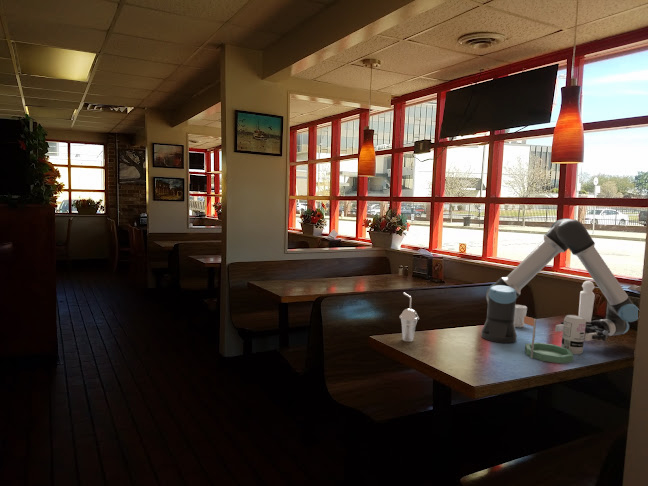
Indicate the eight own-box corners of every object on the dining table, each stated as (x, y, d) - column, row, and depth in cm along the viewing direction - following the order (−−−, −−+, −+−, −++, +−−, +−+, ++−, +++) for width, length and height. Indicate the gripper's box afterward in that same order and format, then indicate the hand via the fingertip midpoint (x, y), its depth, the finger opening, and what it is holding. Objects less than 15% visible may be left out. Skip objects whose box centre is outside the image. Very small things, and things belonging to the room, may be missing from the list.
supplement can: (563, 347, 205) (566, 313, 203) (584, 351, 200) (588, 317, 198) (558, 351, 199) (562, 316, 197) (580, 356, 193) (584, 320, 192)
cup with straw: (399, 342, 200) (402, 296, 198) (396, 336, 209) (399, 292, 207) (419, 343, 200) (422, 297, 198) (415, 337, 209) (418, 292, 207)
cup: (544, 346, 204) (547, 310, 202) (580, 359, 189) (584, 321, 187) (513, 351, 195) (517, 314, 193) (549, 365, 180) (553, 324, 178)
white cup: (526, 328, 233) (528, 308, 232) (510, 326, 234) (511, 307, 233) (523, 324, 241) (525, 305, 240) (507, 322, 242) (509, 303, 241)
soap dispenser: (590, 320, 257) (595, 280, 255) (592, 322, 251) (596, 282, 249) (577, 318, 259) (581, 279, 257) (578, 321, 253) (582, 281, 251)
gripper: (629, 345, 196) (598, 350, 187) (574, 328, 218) (543, 333, 208) (631, 327, 196) (600, 332, 186) (575, 313, 218) (545, 316, 208)
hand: (570, 332), depth 197 cm, fingers open, 13 cm apart
